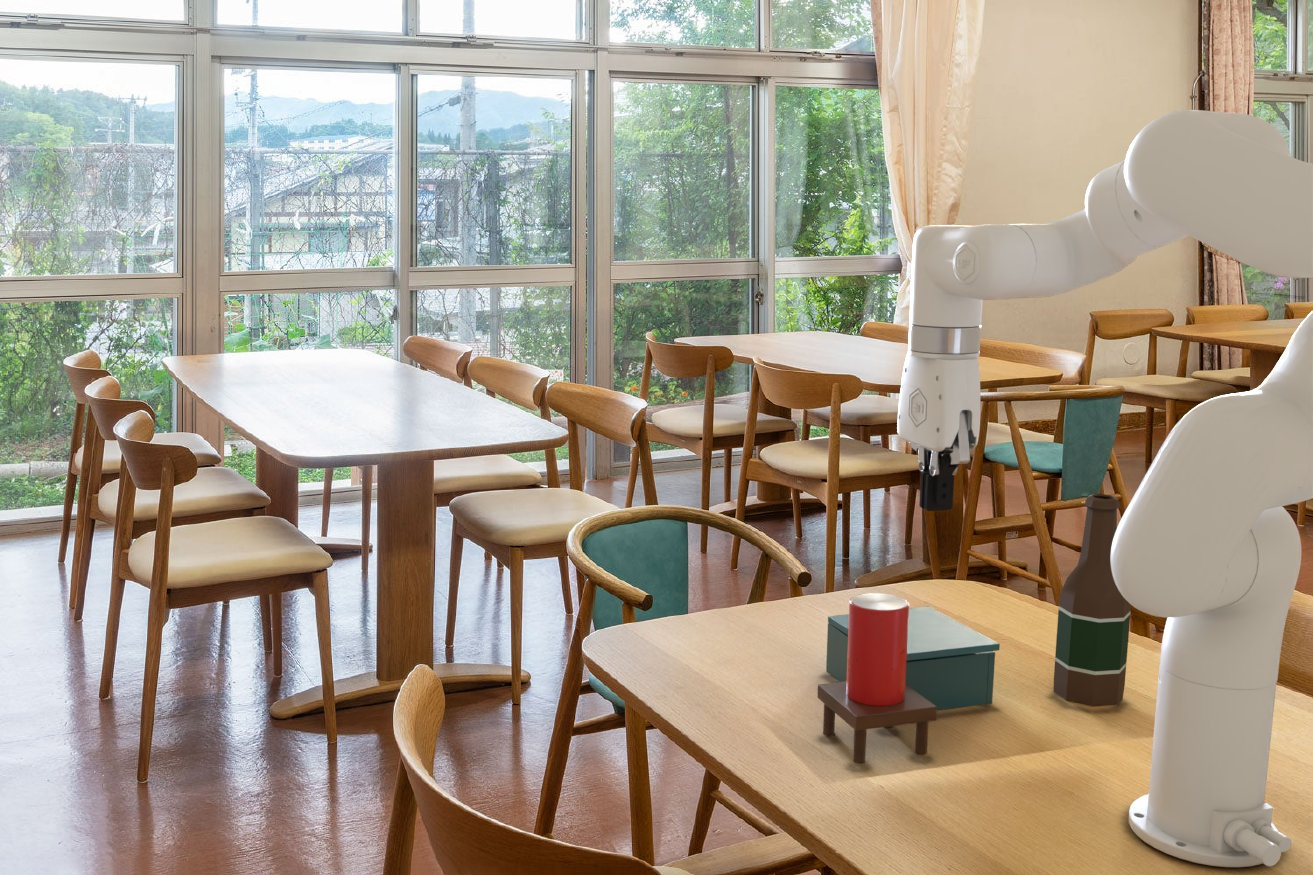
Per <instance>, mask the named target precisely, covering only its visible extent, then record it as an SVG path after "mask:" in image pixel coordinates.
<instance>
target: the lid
mask: <svg viewBox="0 0 1313 875" xmlns="http://www.w3.org/2000/svg"><path fill="white" fill-rule="evenodd" d="M828 623H830V624H831V625H833V626H834V627H836V628H837V629H839V630H841V631H842V632H844V633H845V634H847V635H848V628H849V613H848V614H835V615H828V616H827V624H828ZM1000 646H1001V644H1000V643H999V642H997V641H995V640H993V639H991V638H990V637H988V636H987V635H986V636H985V635H984V634H982V633H980V632H978V631H977V630H975V629H973V628H971V627H969V626H967V625H965V624H963V623H962V622H959V621H957V620H955V619H954V618H952V617H950V616H948V615H946V614H945V613H942V612H940V611H938V610H937V609H935V608H933V607H931V606H926V605H925V606H918V607H916V606H915V607H909V621H908V643H907V661H910V660H919V659H927V658H936V657H945V656H954V655H963V654H971V653H980V652H989V651H994V652H997V651H998V652H999V651H1000Z"/></svg>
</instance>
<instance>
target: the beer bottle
mask: <svg viewBox="0 0 1313 875" xmlns="http://www.w3.org/2000/svg"><path fill="white" fill-rule="evenodd" d="M1084 506H1085V507H1086V512H1085V522H1084V527H1083V528H1084V529H1083V534H1082V542H1081V549H1080V555H1079V559H1078V561H1077V564H1076V566H1075V567H1074V569H1073V570H1072V571H1071V573H1070V574H1069V575H1068V576H1067V577H1066V580H1065V581H1064V584H1063V585H1062V588H1061V590H1060V596H1059V604H1058V611H1057V612H1058V613H1057V624H1056V626H1057V627H1056V638H1055V639H1056V640H1055V655H1054V667H1053V668H1054V670H1053V692H1054V693H1055V694H1057V696H1059V697H1060V698H1062V699H1063V700H1065V701H1066V702H1069V703H1074V704H1078V705H1084V706H1088V707H1105V706H1107V707H1108V706H1117V707H1118V706H1120V704H1121V703H1122V701H1123V700H1124V693H1125V685H1126V674H1127V660H1128V650H1129V648H1128V647H1129V638H1130V625H1131V622H1130V621H1131V611H1132V610H1131V609H1132V608H1131V606H1132V605H1131V604H1130V603H1129V602H1128V601H1127V600H1126V599H1125V598H1124V597H1123V596H1122V594H1121V593H1120V591H1119V590H1118V588H1117V586H1116V584H1115V581H1114V578H1113V575H1112V570H1111V562H1110V555H1111V547H1112V541H1113V538H1114V535H1115V532H1116V529H1117V527H1118V509H1119V508H1121V503H1120V498H1118V497H1116V496H1113V495H1110V494H1104V493H1093V494H1090V495H1088V496H1087V497H1086V499H1085V502H1084Z"/></svg>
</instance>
